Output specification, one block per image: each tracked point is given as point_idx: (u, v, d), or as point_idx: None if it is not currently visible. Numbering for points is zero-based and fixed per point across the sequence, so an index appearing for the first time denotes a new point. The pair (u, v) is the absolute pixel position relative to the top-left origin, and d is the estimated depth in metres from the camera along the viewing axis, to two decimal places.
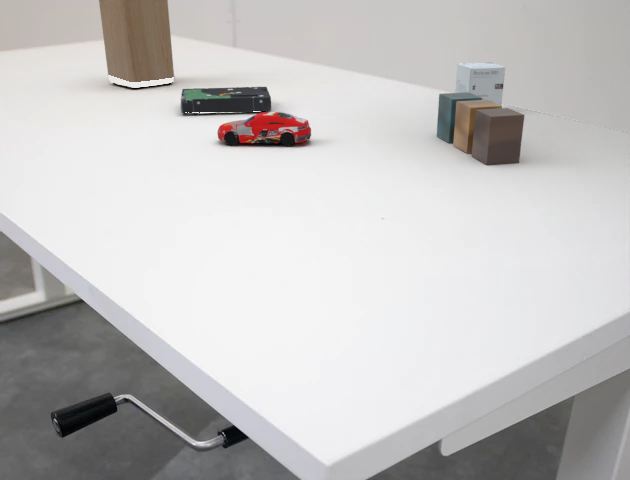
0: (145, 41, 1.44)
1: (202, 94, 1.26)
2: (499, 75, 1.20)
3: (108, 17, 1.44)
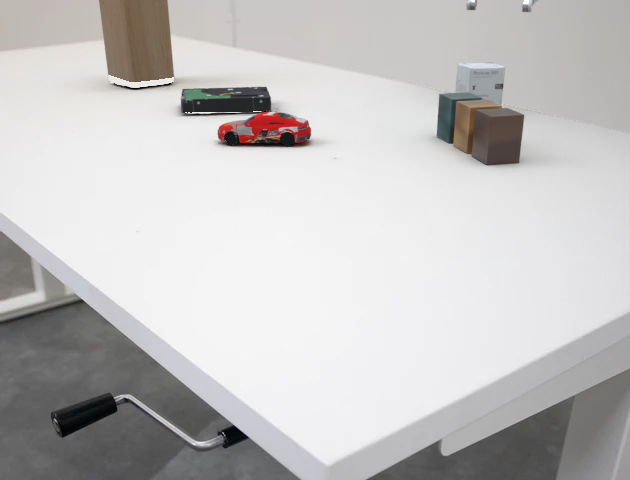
0: (145, 41, 1.44)
1: (202, 94, 1.27)
2: (499, 75, 1.20)
3: (108, 17, 1.44)
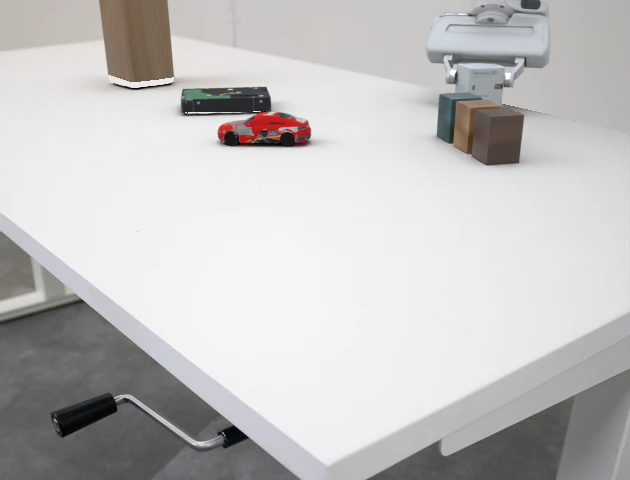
0: (145, 41, 1.44)
1: (202, 94, 1.27)
2: (499, 75, 1.20)
3: (108, 17, 1.44)
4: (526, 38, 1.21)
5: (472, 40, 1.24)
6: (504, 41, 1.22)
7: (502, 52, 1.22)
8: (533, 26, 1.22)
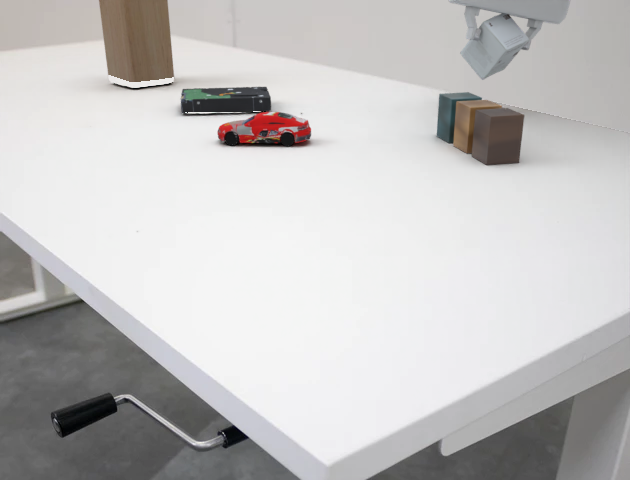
0: (145, 41, 1.44)
1: (202, 94, 1.27)
2: (521, 46, 1.19)
3: (108, 17, 1.44)
4: (549, 0, 1.18)
5: None
6: (530, 1, 1.17)
7: (527, 15, 1.18)
8: None
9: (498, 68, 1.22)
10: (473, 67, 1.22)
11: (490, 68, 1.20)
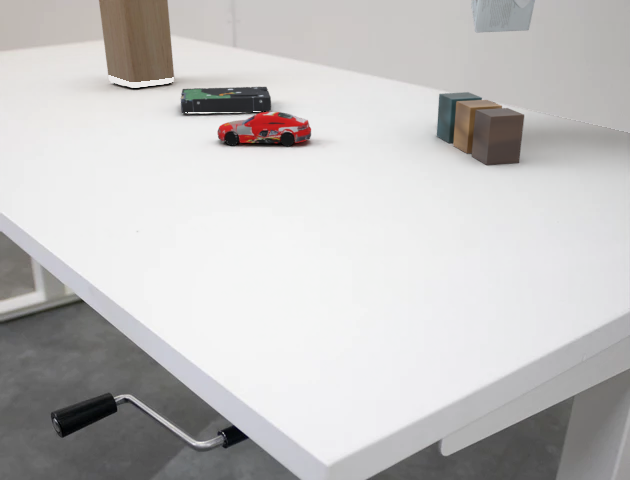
0: (145, 41, 1.44)
1: (202, 94, 1.27)
2: None
3: (108, 17, 1.44)
4: None
5: None
6: None
7: None
8: None
9: None
10: (480, 17, 1.00)
11: (495, 30, 1.02)
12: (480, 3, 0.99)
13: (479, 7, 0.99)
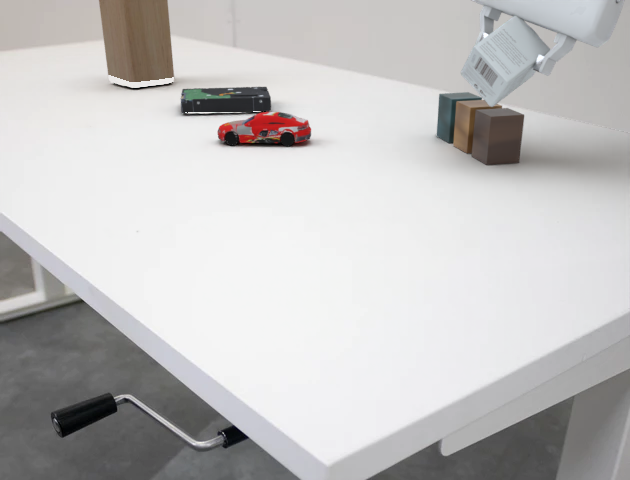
0: (145, 41, 1.44)
1: (202, 94, 1.27)
2: None
3: (108, 17, 1.44)
4: None
5: None
6: None
7: None
8: None
9: None
10: (500, 96, 0.90)
11: (507, 94, 0.92)
12: (504, 88, 0.88)
13: (502, 91, 0.88)
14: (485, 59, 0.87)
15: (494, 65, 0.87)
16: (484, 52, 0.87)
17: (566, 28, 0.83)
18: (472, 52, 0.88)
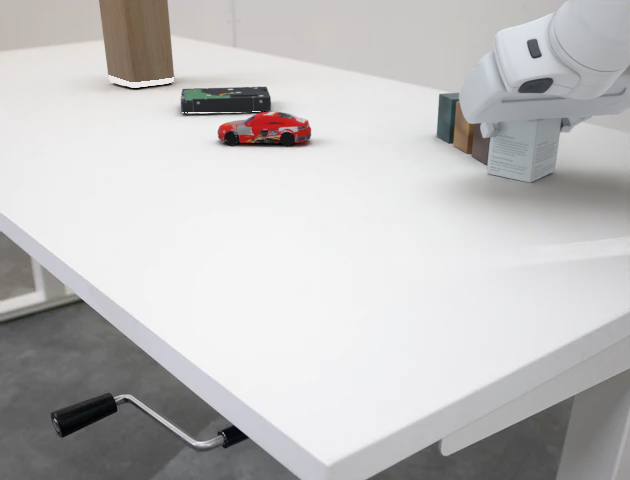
0: (145, 41, 1.44)
1: (202, 94, 1.27)
2: None
3: (108, 17, 1.44)
4: None
5: None
6: None
7: None
8: None
9: None
10: None
11: None
12: None
13: None
14: None
15: (545, 174, 0.90)
16: (537, 176, 0.88)
17: (600, 114, 0.85)
18: None
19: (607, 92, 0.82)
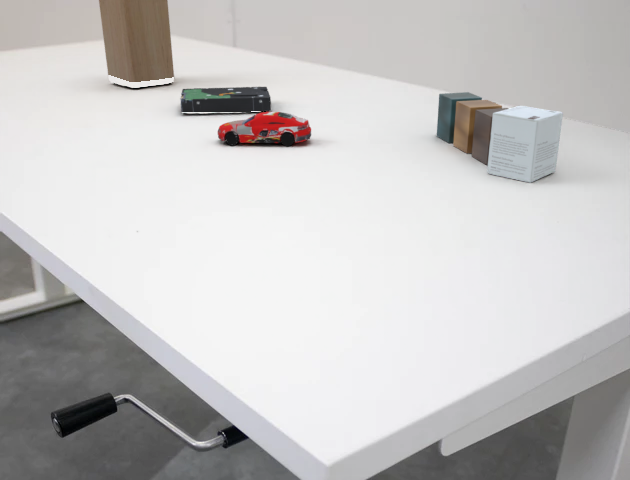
0: (145, 41, 1.44)
1: (202, 94, 1.27)
2: None
3: (108, 17, 1.44)
4: None
5: None
6: None
7: None
8: None
9: None
10: None
11: None
12: None
13: None
14: (539, 178, 0.89)
15: (546, 174, 0.90)
16: (538, 176, 0.88)
17: None
18: None
19: None
